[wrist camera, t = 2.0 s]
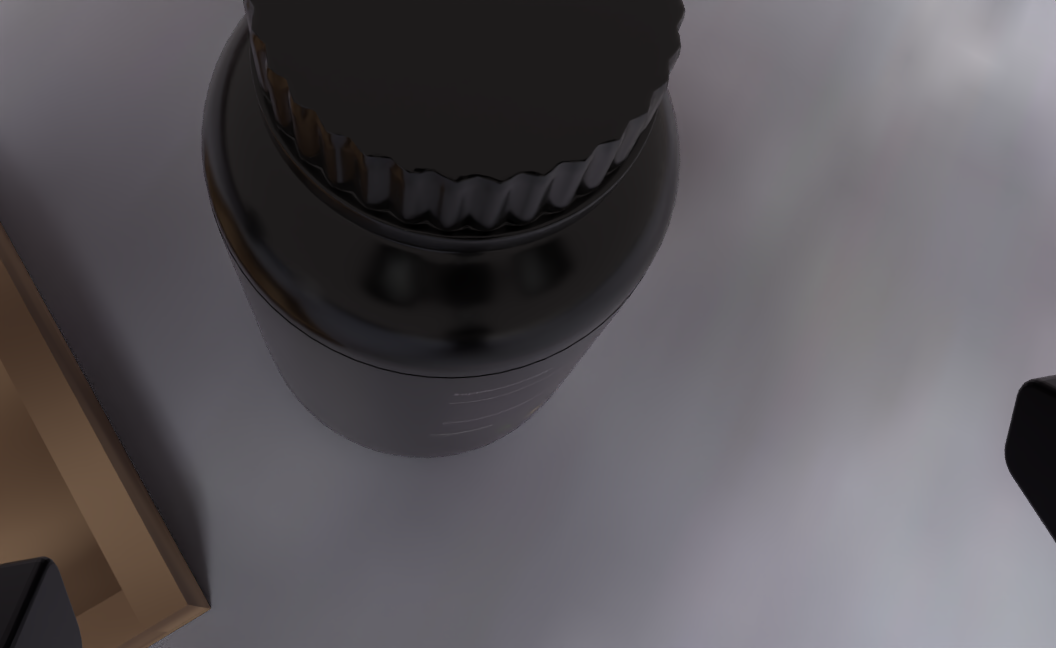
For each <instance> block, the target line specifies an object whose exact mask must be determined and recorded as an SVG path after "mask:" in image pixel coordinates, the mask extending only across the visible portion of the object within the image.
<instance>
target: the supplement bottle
mask: <svg viewBox="0 0 1056 648" xmlns="http://www.w3.org/2000/svg"><path fill="white" fill-rule="evenodd" d="M243 3H244V8H245V13H246V14H245V15H244V17H243V18H242V19H241V20H240V22H239V23H238V25H237V26H236V28H235V30H234V31H233V33H232V34H231V36H230V38H229V39H228V41H227V43H226V45H225V47H224V49H223V51H222V53H221V55H220V57H219V59H218V62H217V64H216V66H215V69H214V72H213V75H212V78H211V81H210V84H209V88H208V93H207V97H206V102H205V106H204V113H203V122H202V160H203V169H204V177H205V181H206V185H207V190H208V194H209V198H210V203H211V206H212V211H213V213H214V216H215V219H216V222H217V225H218V228H219V231H220V233H221V236H222V239H223V241H224V243H225V246H226V248H227V251H228V253H229V256H230V258H231V261H232V263H233V265H234V268H235V270H236V273H237V275H238V278H239V280H240V282H241V285H242V287H243V290H244V292H245V295H246V297H247V299H248V302H249V304H250V307H251V309H252V311H253V314H254V316H255V319H256V321H257V324H258V326H259V328H260V331H261V333H262V336H263V338H264V341H265V343H266V345H267V348H268V350H269V352H270V354H271V356H272V358H273V361H274V363H275V365H276V366H277V368H278V371H279V373H280V374H281V376H282V378H283V379H284V381H285V383H286V384H287V386H288V387H289V389H290V390H291V391H292V393H293V394H294V395H295V396H296V398H297V399H298V400H299V401H300V402H301V403H302V404H303V406H304V407H305V408H306V409H307V410H308V411H309V412H310V413H311V414H312V415H313V416H315V417H316V418H317V419H318V420H319V421H320V422H321V423H323V424H324V425H326V426H327V427H328V428H330V429H331V430H333V431H334V432H336V433H337V434H339V435H341V436H343V437H344V438H346V439H348V440H350V441H352V442H354V443H356V444H359V445H361V446H363V447H366V448H369V449H372V450H375V451H378V452H382V453H387V454H391V455H396V456H404V457H415V458H431V457H444V456H450V455H456V454H460V453H464V452H468V451H471V450H475V449H477V448H480V447H483V446H485V445H488V444H490V443H492V442H494V441H496V440H498V439H500V438H502V437H504V436H505V435H507V434H509V433H510V432H512V431H513V430H515V429H516V428H518V427H519V426H520V425H522V424H523V423H524V422H526V421H527V420H528V419H529V418H531V417H532V416H533V415H534V414H535V413H536V412H537V411H538V410H539V409H540V408H541V407H542V406H543V405H544V404H545V402H546V401H547V400H548V399H549V398H550V397H551V396H552V395H553V393H554V392H555V391H556V390H557V389H558V387H559V386H560V385H561V384H562V382H563V381H564V380H565V379H566V377H567V376H568V375H569V373H570V372H571V371H572V370H573V368H574V367H575V366H576V364H577V363H578V362H579V361H580V359H581V358H582V357H583V355H584V354H585V353H586V352H587V350H588V349H589V348H590V347H591V345H592V344H593V343H594V341H595V340H596V339H597V338H598V336H599V335H600V334H601V332H602V331H603V330H604V329H605V327H606V326H607V325H608V324H609V322H610V321H611V320H612V318H613V317H614V316H615V315H616V313H617V312H618V311H619V309H620V308H621V307H622V306H623V304H624V303H625V302H626V300H627V299H628V298H629V297H630V295H631V294H632V292H633V291H634V290H635V288H636V287H637V285H638V284H639V282H640V281H641V279H642V278H643V276H644V275H645V273H646V271H647V270H648V268H649V266H650V264H651V263H652V261H653V259H654V257H655V255H656V253H657V251H658V249H659V248H660V246H661V244H662V241H663V239H664V236H665V234H666V231H667V229H668V226H669V223H670V220H671V216H672V213H673V209H674V206H675V200H676V194H677V188H678V181H679V166H680V152H679V136H678V130H677V123H676V117H675V113H674V109H673V105H672V101H671V97H670V94H669V91H668V88H667V87H668V80H669V74H670V72H671V70H672V69H673V67H674V65H675V63H676V61H677V59H678V57H679V54H680V49H681V43H680V36H679V33H678V30H679V28H680V26H681V24H682V21H683V19H684V15H685V8H684V5H683V2H682V0H243Z"/></svg>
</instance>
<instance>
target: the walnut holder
mask: <svg viewBox="0 0 1056 648" xmlns="http://www.w3.org/2000/svg"><path fill="white" fill-rule="evenodd" d="M41 556H45V557H48V558H50V559H52V560H53V561H54V562H55V564H56V565H57V567H58V569H59V571H60V574H61V577H62V580H63V583H64V586H65V588H66V591H67V594H68V597H69V600H70V603H71V606H72V608H73V611H74V614H75V617H76V620H77V623H78V626H79V629H80V633H81V639H82V648H147V647H149V646H151V645H152V644H154V643H156V642H157V641H159V640H160V639H162V638H164V637H165V636H167V635H169V634H170V633H172V632H174V631H175V630H177V629H179V628H180V627H182V626H184V625H185V624H187V623H188V622H190V621H192V620H193V619H195V618H197V617H198V616H200V615H202V614H203V613H205V612H207V611H208V610H210V609H211V607H210V606H209V604H208V602H207V600H206V598H205V596H204V595H203V593H202V591H201V589H200V587H199V585H198V584H197V582H196V580H195V578H194V576H193V574H192V573H191V571H190V569H189V567H188V565H187V563H186V562H185V560H184V558H183V556H182V554H181V552H180V551H179V549H178V547H177V545H176V543H175V541H174V540H173V538H172V536H171V534H170V532H169V530H168V529H167V527H166V525H165V523H164V521H163V519H162V518H161V516H160V514H159V512H158V510H157V508H156V507H155V505H154V503H153V501H152V499H151V497H150V496H149V494H148V492H147V490H146V488H145V486H144V485H143V483H142V481H141V479H140V477H139V475H138V474H137V472H136V470H135V468H134V466H133V464H132V463H131V461H130V459H129V457H128V455H127V453H126V452H125V450H124V448H123V446H122V444H121V442H120V441H119V439H118V437H117V435H116V433H115V431H114V430H113V428H112V426H111V424H110V422H109V420H108V419H107V417H106V415H105V413H104V411H103V409H102V408H101V406H100V404H99V402H98V400H97V398H96V397H95V395H94V393H93V391H92V389H91V387H90V386H89V384H88V382H87V380H86V378H85V376H84V375H83V373H82V371H81V369H80V367H79V365H78V364H77V362H76V360H75V358H74V356H73V354H72V353H71V351H70V349H69V347H68V345H67V343H66V342H65V340H64V338H63V336H62V334H61V332H60V331H59V329H58V327H57V325H56V323H55V321H54V320H53V318H52V316H51V314H50V312H49V310H48V309H47V307H46V305H45V303H44V301H43V299H42V298H41V296H40V294H39V292H38V290H37V288H36V287H35V285H34V283H33V281H32V279H31V277H30V276H29V274H28V272H27V270H26V268H25V266H24V265H23V263H22V261H21V259H20V257H19V255H18V254H17V252H16V250H15V248H14V246H13V244H12V243H11V241H10V239H9V237H8V235H7V233H6V232H5V230H4V228H3V226H2V224H1V222H0V564H3V563H8V562H13V561H19V560H25V559H30V558H36V557H41Z"/></svg>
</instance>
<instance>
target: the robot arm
mask: <svg viewBox="0 0 1056 648" xmlns="http://www.w3.org/2000/svg"><path fill="white" fill-rule="evenodd" d="M1005 460H1006V464H1007V467H1008V469H1009V472H1010V473H1011V475H1012V477H1013V478H1014V480H1015V481H1016V483H1017V484H1018V486H1019V487H1020V489H1021V491H1022V492H1023V494H1024V495H1025V497H1026V498H1027V500H1028V501H1029V503H1030V504H1031V506H1032V507H1033V509H1034V510H1035V512H1036V513H1037V515H1038V516H1039V518H1040V519H1041V521H1042V522H1043V524H1044V525H1045V527H1046V528H1047V530H1048V532H1049V533H1050V535H1051V536H1052V538H1053V539H1054V541H1055V542H1056V375H1052V376H1047V377H1041V378H1036V379H1031V380H1029V381H1027V382H1025V383H1024V384H1023V385H1022V387H1021V388H1020V389H1019V391H1018V394H1017V398H1016V402H1015V406H1014V410H1013V414H1012V418H1011V423H1010V427H1009V431H1008V435H1007V439H1006V444H1005ZM0 648H82V639H81V633H80V629H79V626H78V623H77V620H76V617H75V614H74V611H73V608H72V606H71V603H70V600H69V597H68V594H67V591H66V588H65V586H64V583H63V580H62V577H61V574H60V571H59V569H58V567H57V565H56V564H55V562H54V561H53V560H52V559H50V558H48V557H45V556H41V557H36V558H30V559H25V560H19V561H13V562H8V563H3V564H0Z"/></svg>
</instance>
